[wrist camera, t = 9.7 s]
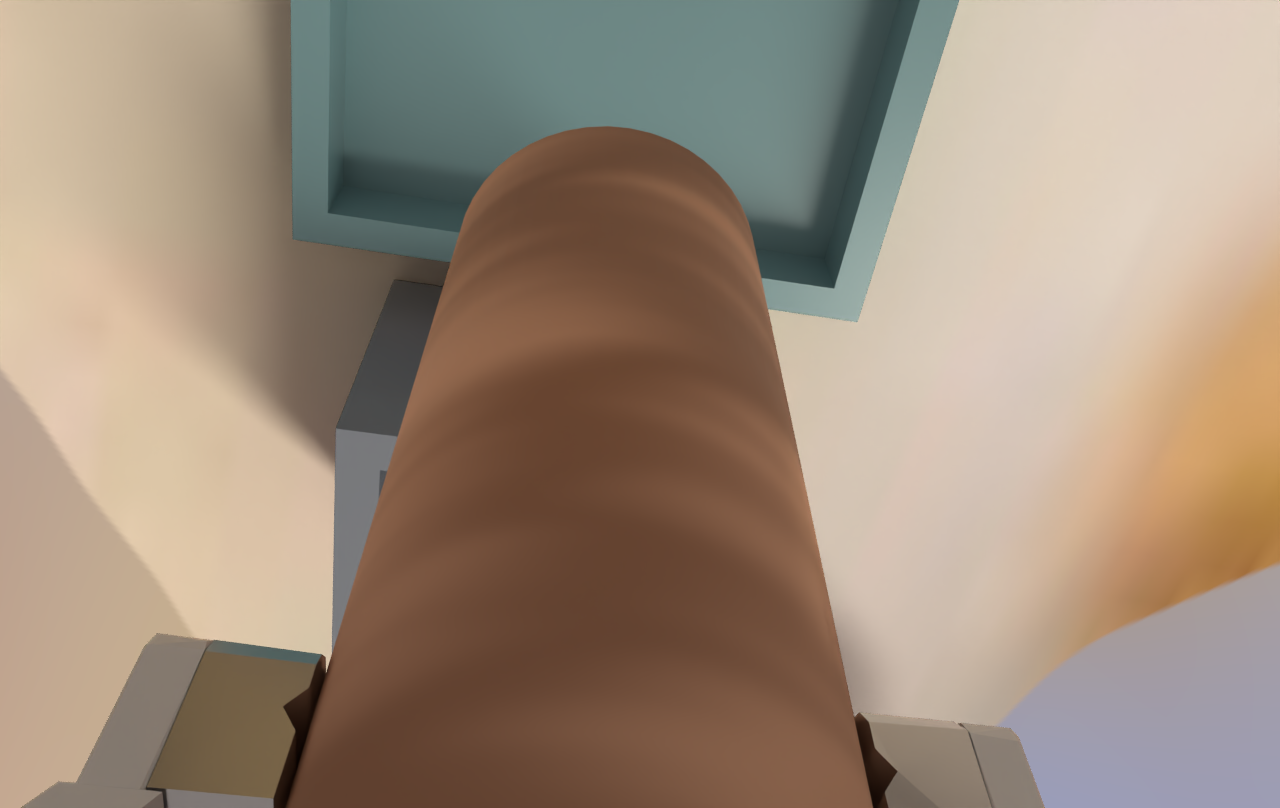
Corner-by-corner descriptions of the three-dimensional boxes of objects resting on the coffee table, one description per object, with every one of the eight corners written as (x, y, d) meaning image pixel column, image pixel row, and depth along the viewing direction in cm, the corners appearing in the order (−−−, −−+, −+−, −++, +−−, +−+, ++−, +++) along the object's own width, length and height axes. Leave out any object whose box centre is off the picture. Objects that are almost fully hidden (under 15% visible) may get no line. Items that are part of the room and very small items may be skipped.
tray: (985, -201, 29) (1018, -188, 26) (841, 276, 36) (857, 322, 34) (320, -330, 27) (287, -330, 25) (317, 198, 35) (292, 239, 32)
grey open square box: (693, 322, 37) (706, 477, 30) (643, 545, 43) (645, 720, 36) (393, 279, 36) (335, 428, 29) (382, 513, 42) (331, 685, 35)
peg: (786, 152, 17) (1037, 945, 7) (721, 411, 20) (824, 1270, 9) (469, 102, 17) (185, 867, 6) (446, 374, 20) (223, 1235, 9)
